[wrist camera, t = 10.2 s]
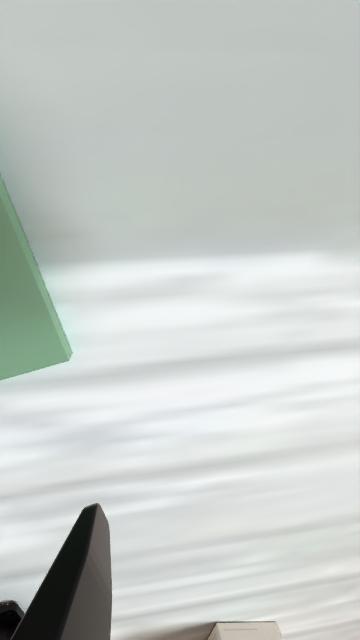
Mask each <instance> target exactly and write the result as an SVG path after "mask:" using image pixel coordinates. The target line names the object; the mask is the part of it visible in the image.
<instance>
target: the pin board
mask: <svg viewBox="0 0 360 640" xmlns="http://www.w3.org/2000/svg"><path fill="white" fill-rule="evenodd" d="M72 353H73V352H72V350H71V347H70V345H69V343H68V340H67V338H66V335H65V333H64V330H63V328H62V325H61V323H60V320H59V318H58V315H57V313H56V310H55V308H54V306H53V303H52V301H51V298H50V296H49V293H48V291H47V288H46V286H45V283H44V281H43V278H42V276H41V273H40V271H39V269H38V266H37V264H36V261H35V259H34V256H33V254H32V251H31V249H30V246H29V244H28V241H27V239H26V237H25V234H24V232H23V229H22V227H21V224H20V222H19V219H18V217H17V214H16V212H15V209H14V207H13V204H12V202H11V200H10V197H9V195H8V192H7V190H6V187H5V185H4V182H3V180H2V177H1V175H0V380H3V379H7V378H10V377H14V376H17V375H21V374H24V373H28V372H31V371H35V370H38V369H42V368H45V367H49V366H52V365H56V364H59V363H63V362H66V361H69V359H70V357H71V355H72Z"/></svg>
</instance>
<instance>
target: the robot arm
mask: <svg viewBox="0 0 360 640" xmlns="http://www.w3.org/2000/svg"><path fill="white" fill-rule="evenodd" d="M111 612H112V579H111V555H110V531H109V524H108V521H107V519H106V517H105V514H104V512H103V510H102V508H101V506H100V504H98V503H95V504H92V505H89V506H87V507H85V508H84V509H83V510H82V512H81V514H80V515H79V517H78V519H77V521H76V523H75V524H74V526H73V528H72V530H71V532H70V533H69V535H68V537H67V539H66V541H65V542H64V544H63V546H62V548H61V550H60V551H59V553H58V555H57V557H56V559H55V560H54V562H53V564H52V566H51V568H50V570H49V571H48V573H47V575H46V577H45V579H44V580H43V582H42V584H41V586H40V588H39V589H38V591H37V593H36V595H35V597H34V598H33V600H32V602H31V604H30V606H29V607H28V609H27V611H26V613H25V614H24V613H23V611H22V610H21V609H20V607H19V606H18V605H17V604H9V605H6V606H4V607H1V608H0V640H110V632H111Z"/></svg>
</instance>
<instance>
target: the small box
mask: <svg viewBox="0 0 360 640" xmlns="http://www.w3.org/2000/svg"><path fill="white" fill-rule="evenodd" d="M207 640H283V637H282V635H281V632H280V630H279V627H278V624H277V623H276V622H244V623H216V625H215V627H214V629H213V630H212V632H211V634H210V636H209V638H208V639H207Z"/></svg>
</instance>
